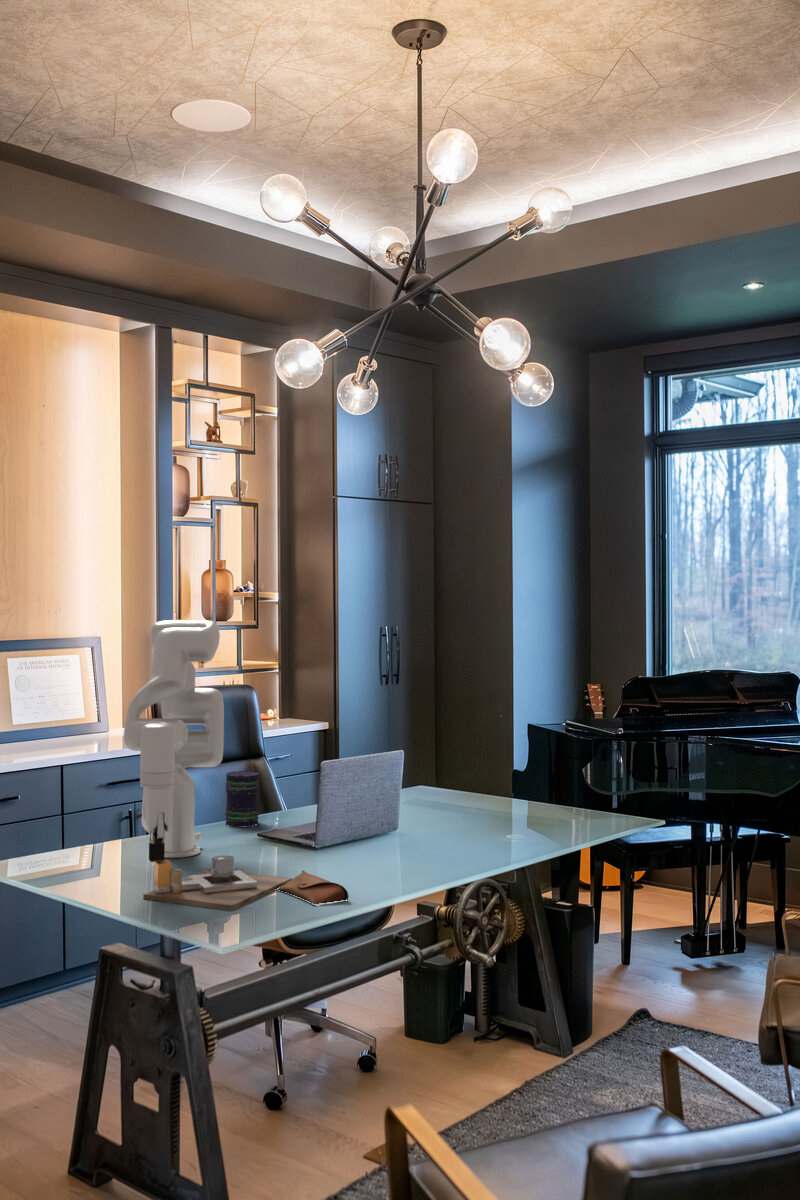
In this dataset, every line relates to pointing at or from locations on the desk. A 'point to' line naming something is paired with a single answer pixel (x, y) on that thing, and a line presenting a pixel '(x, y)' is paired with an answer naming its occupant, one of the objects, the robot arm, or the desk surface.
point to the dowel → (176, 881)
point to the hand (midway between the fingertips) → (156, 860)
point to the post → (222, 869)
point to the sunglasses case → (314, 889)
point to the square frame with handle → (197, 880)
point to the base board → (222, 893)
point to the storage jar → (242, 798)
